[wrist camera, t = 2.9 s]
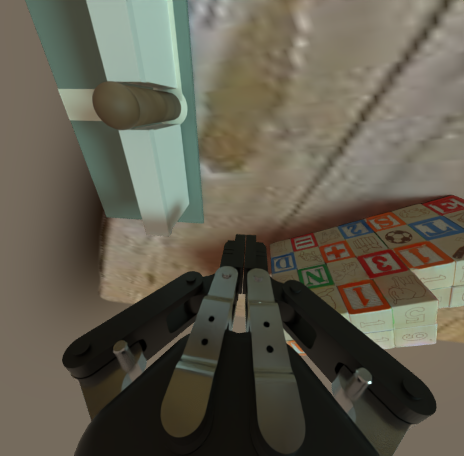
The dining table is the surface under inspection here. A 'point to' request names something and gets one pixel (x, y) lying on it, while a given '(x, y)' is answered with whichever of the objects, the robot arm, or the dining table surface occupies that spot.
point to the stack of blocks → (383, 270)
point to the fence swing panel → (157, 175)
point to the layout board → (92, 74)
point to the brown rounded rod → (133, 105)
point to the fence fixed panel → (134, 41)
